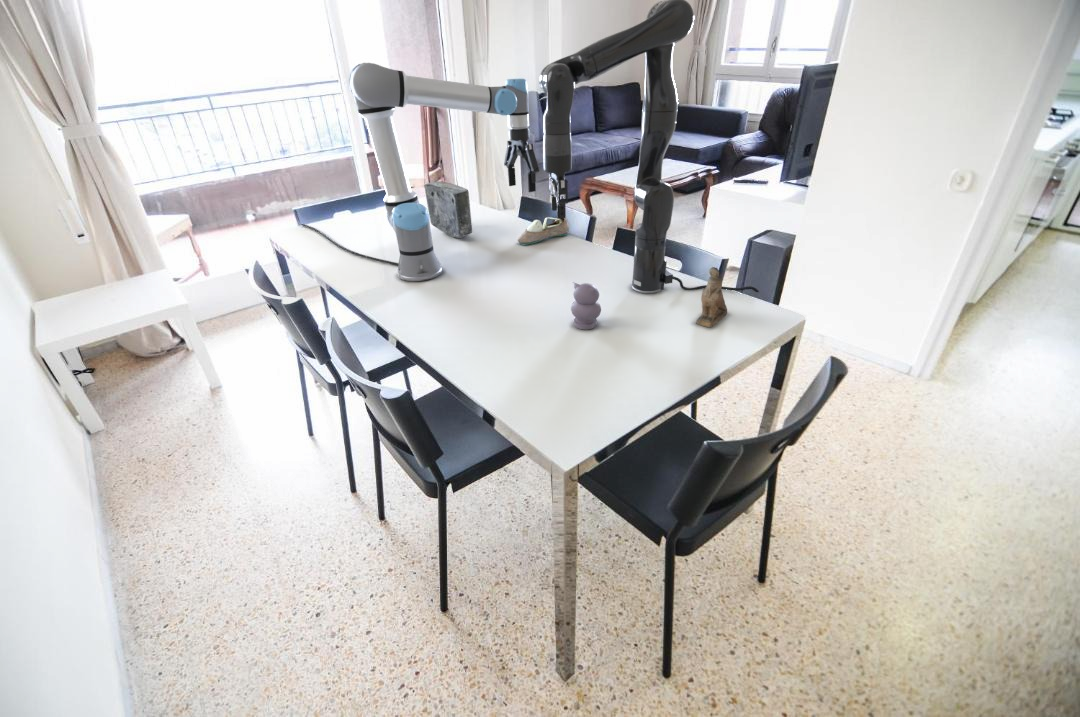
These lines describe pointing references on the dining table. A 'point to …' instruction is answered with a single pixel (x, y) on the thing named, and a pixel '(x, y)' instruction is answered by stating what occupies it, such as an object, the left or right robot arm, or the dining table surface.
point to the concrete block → (449, 208)
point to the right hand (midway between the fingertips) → (558, 214)
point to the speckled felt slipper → (543, 230)
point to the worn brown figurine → (712, 301)
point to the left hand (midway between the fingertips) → (522, 188)
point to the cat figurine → (585, 306)
